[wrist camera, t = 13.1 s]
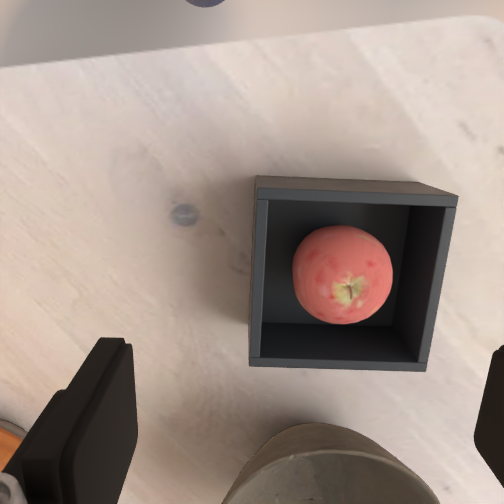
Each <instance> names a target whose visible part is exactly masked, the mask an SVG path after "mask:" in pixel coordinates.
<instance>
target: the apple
mask: <svg viewBox="0 0 504 504" xmlns="http://www.w3.org/2000/svg"><path fill="white" fill-rule="evenodd" d="M292 273H293V285H294V290H295V294H296V297H297V299H298V301H299V302H300V304H301V306H302V307H303V308H304V309H305V310H306V311H307V312H308V313H310V314H311V315H312V316H314V317H316V318H318V319H320V320H322V321H325V322H329V323H332V324H349V323H355V322H359V321H361V320H364V319H366V318H368V317H370V316H371V315H372V314H374V313H375V312H376V311H378V309H379V308H380V307H381V306H382V305H383V303H384V302H385V300H386V298H387V297H388V295H389V293H390V290H391V286H392V279H393V270H392V265H391V260H390V257H389V255H388V253H387V251H386V250H385V248H384V246H383V245H382V244H381V243H380V242H379V241H378V240H377V239H376V238H375V237H373V236H372V235H370V234H369V233H367V232H365V231H363V230H361V229H358V228H355V227H352V226H349V225H333V226H326V227H323V228H320V229H317V230H314V231H313V232H312V233H310V234H309V235H307V236H306V237H305V238H304V239H303V241H302V242H301V243H300V244H299V246H298V247H297V249H296V252H295V254H294V257H293V266H292Z"/></svg>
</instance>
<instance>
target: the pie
mask: <svg viewBox="0 0 504 504" xmlns="http://www.w3.org/2000/svg"><path fill="white" fill-rule="evenodd" d="M27 434H28V433H27V432H26V431H25V430H23V429H21V428H20V427H18V426H16V425H14V424H12V423H10V422H7V421H3V420H0V472H2V470H3V469H4V467H5V466H6V464H7V463H8V461H9V460H10V458H11V457H12V455H13V454H14V453H15V451H16V450H17V448H18V447H19V445H20V444H21V442H22V441H23V439H24V438H25V436H26V435H27Z"/></svg>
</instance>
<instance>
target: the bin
mask: <svg viewBox="0 0 504 504" xmlns="http://www.w3.org/2000/svg"><path fill="white" fill-rule="evenodd" d="M457 202H458V196H457V195H455V194H452V193H449V192H446V191H443V190H440V189H437V188H434V187H431V186H428V185H425V184H423V183H420V182H401V181H377V180H354V179H330V178H306V177H283V176H259V175H256V176H255V190H254V212H253V235H252V257H251V279H250V301H249V323H248V333H249V366H254V367H286V368H318V369H350V370H381V371H413V372H426V368H427V362H428V357H429V352H430V347H431V341H432V336H433V331H434V325H435V320H436V315H437V309H438V304H439V299H440V293H441V288H442V283H443V277H444V272H445V267H446V261H447V256H448V251H449V245H450V240H451V235H452V229H453V224H454V219H455V213H456V207H457ZM333 225H349V226H352V227H355V228H358V229H361V230H363V231H365V232H367V233H369V234H370V235H372V236H373V237H375V238H376V239H377V240H378V241H379V242H380V243H381V244H382V245H383V246H384V248H385V250H386V251H387V253H388V255H389V257H390V260H391V265H392V270H393V279H392V286H391V290H390V293H389V295H388V297H387V298H386V300H385V302H384V303H383V305H382V306H381V307H380V308H379V309H378V311H376V312H375V313H374V314H372V315H371V316H370V317H368V318H366V319H364V320H361V321H359V322H355V323H349V324H332V323H329V322H325V321H322V320H320V319H318V318H316V317H314V316H312V315H311V314H310V313H308V312H307V311H306V310H305V309H304V308H303V307H302V306H301V304H300V302H299V301H298V299H297V297H296V294H295V290H294V285H293V273H292V266H293V257H294V254H295V252H296V249H297V247H298V246H299V244H300V243H301V242H302V241H303V239H304V238H305V237H306V236H307V235H309V234H310V233H312V232H313V231H314V230H317V229H320V228H323V227H326V226H333Z"/></svg>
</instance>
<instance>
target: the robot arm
mask: <svg viewBox="0 0 504 504" xmlns="http://www.w3.org/2000/svg"><path fill="white" fill-rule="evenodd" d="M137 438H138V423H137V408H136V393H135V378H134V362H133V348H132V345H131V344H125V340H124V338H105V337H102V338H100V339H99V340H98V341H97V343H96V344H95V346H94V347H93V349H92V350H91V352H90V353H89V355H88V356H87V358H86V360H85V361H84V363H83V364H82V366H81V367H80V369H79V370H78V372H77V373H76V375H75V376H74V378H73V379H72V381H71V383H70V384H69V386H68V387H67V389H66V390H59V391H57V392H56V393H55V394H54V395H53V397H52V398H51V400H50V401H49V403H48V404H47V406H46V407H45V409H44V410H43V412H42V413H41V415H40V416H39V417H38V419H37V420H36V422H35V423H34V425H33V426H32V428H31V429H30V431H29V432H28V434H27V435H26V436H25V438H24V439H23V441H22V442H21V444H20V445H19V447H18V448H17V450H16V451H15V453H14V454H13V455H12V457H11V458H10V460H9V461H8V463H7V464H6V466H5V467H4V469H3V470H2V472H0V504H117V502H118V499H119V496H120V493H121V490H122V487H123V484H124V481H125V478H126V475H127V472H128V469H129V466H130V463H131V460H132V457H133V454H134V451H135V448H136V444H137ZM474 443H475V446H476V448H477V450H478V452H479V453H480V455H481V456H482V457H483V459H484V460H485V462H486V463H487V465H488V466H489V467H490V469H491V470H492V472H493V473H494V475H495V476H496V478H497V479H498V480H499V482H500V483H501V485H502V486H503V488H504V345H502V346H501V347H500V348H499V350H496V351H495V352H494V353H493V355H492V359H491V364H490V368H489V372H488V376H487V381H486V385H485V389H484V393H483V398H482V402H481V406H480V410H479V415H478V419H477V423H476V427H475V432H474Z"/></svg>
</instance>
